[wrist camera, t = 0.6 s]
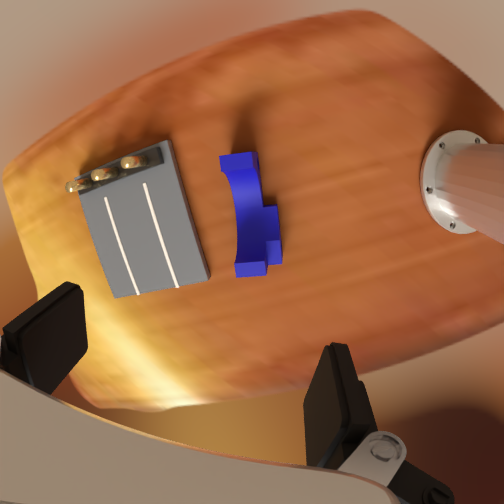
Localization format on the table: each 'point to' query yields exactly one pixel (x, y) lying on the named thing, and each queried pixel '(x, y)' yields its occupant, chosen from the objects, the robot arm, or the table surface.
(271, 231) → the blue curved bracket
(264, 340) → the table surface
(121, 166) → the brass pins
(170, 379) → the table surface
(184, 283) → the header board
